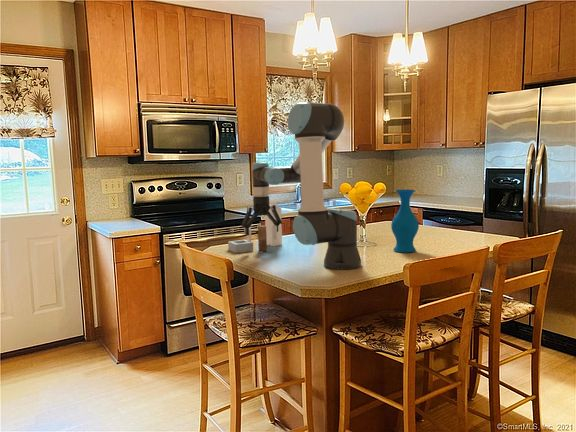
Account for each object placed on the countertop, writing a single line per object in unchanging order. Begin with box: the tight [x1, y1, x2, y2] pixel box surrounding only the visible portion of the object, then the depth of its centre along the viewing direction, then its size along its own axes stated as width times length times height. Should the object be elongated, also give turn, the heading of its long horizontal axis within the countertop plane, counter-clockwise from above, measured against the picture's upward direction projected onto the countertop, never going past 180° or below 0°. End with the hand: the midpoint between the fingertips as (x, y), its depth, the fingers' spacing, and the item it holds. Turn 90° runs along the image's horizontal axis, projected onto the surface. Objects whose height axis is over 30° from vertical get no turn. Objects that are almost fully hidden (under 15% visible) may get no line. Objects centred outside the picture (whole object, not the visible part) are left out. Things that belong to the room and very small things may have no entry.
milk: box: [264, 200, 283, 247], centre depth 237 cm, size 6×6×22 cm
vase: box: [390, 189, 420, 254], centre depth 215 cm, size 12×13×28 cm
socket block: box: [227, 239, 254, 254], centre depth 226 cm, size 9×9×4 cm
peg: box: [257, 225, 268, 253], centre depth 222 cm, size 4×4×12 cm
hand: (262, 240), depth 222 cm, fingers open, 13 cm apart
